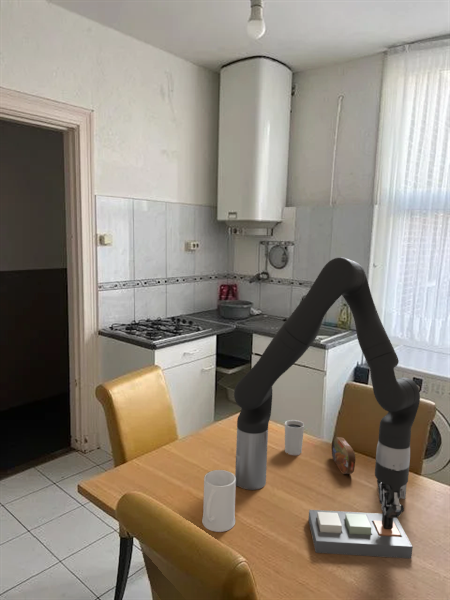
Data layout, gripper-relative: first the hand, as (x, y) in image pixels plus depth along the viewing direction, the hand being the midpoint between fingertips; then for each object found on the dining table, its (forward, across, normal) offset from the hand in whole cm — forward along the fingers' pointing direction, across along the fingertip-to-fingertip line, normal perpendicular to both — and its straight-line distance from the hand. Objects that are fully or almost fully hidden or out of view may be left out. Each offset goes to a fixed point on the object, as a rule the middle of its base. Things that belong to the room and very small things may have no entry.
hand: (387, 527), depth 106 cm
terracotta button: (+3, 0, 0) cm, 3 cm away
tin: (+4, -35, -3) cm, 35 cm away
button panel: (+3, 0, -7) cm, 8 cm away
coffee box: (+4, -23, +9) cm, 25 cm away
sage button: (+2, 0, -7) cm, 7 cm away
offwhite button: (+2, 0, -14) cm, 14 cm away
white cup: (+4, -44, -18) cm, 48 cm away
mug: (+4, -2, -42) cm, 42 cm away
